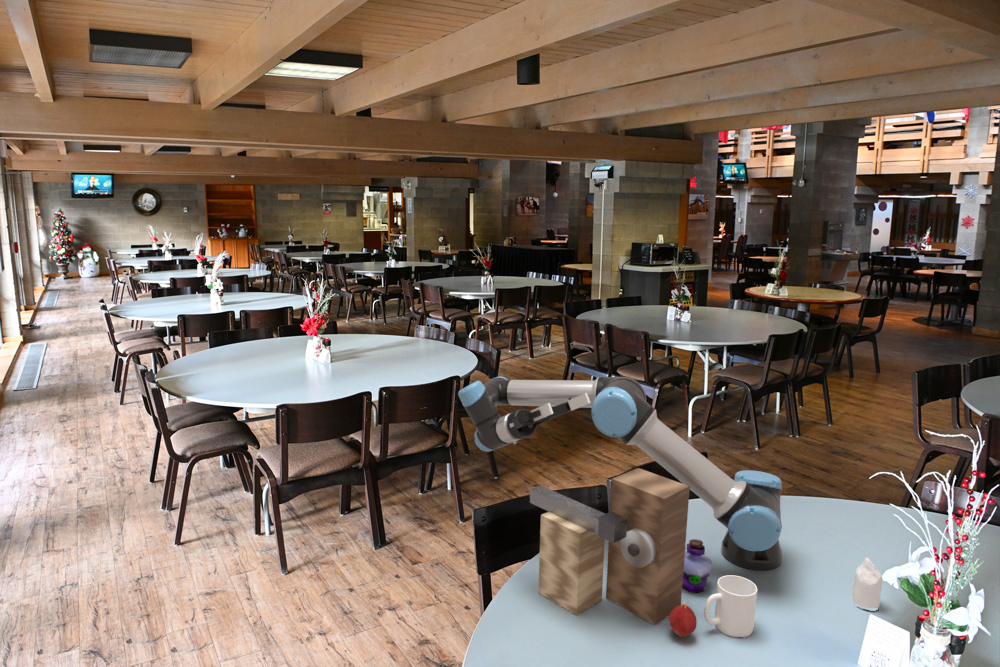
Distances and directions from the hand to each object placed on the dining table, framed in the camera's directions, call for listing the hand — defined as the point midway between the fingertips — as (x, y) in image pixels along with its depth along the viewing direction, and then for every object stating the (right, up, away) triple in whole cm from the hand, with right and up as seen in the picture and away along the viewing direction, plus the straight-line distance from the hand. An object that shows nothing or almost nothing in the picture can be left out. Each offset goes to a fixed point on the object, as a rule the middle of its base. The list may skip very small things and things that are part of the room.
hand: (569, 403), depth 166 cm
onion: (+22, -49, -19) cm, 57 cm away
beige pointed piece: (+69, -47, -6) cm, 84 cm away
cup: (+33, -48, -16) cm, 61 cm away
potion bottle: (+30, -45, 0) cm, 54 cm away
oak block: (-1, -45, -5) cm, 46 cm away
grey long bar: (0, -26, -9) cm, 27 cm away
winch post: (+15, -46, -8) cm, 49 cm away
